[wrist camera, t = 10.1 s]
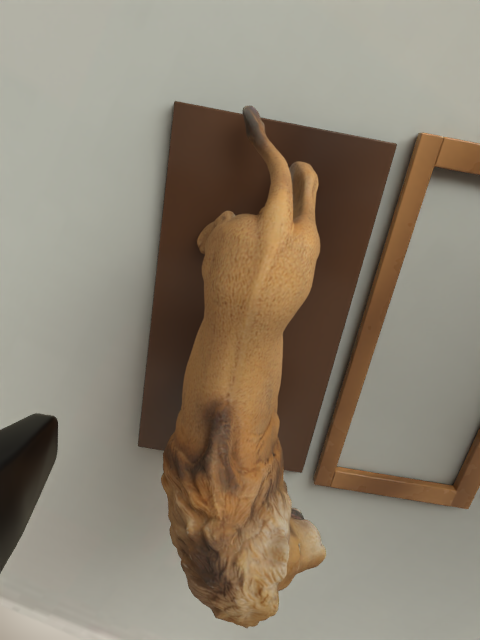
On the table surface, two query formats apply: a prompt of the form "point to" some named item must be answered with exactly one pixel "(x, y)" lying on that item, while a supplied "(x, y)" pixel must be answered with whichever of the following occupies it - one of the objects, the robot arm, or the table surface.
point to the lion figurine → (244, 403)
